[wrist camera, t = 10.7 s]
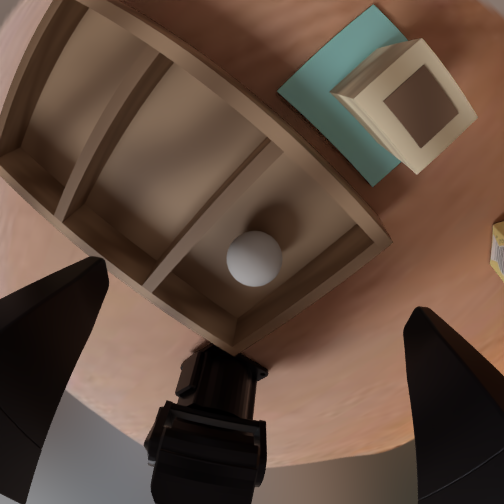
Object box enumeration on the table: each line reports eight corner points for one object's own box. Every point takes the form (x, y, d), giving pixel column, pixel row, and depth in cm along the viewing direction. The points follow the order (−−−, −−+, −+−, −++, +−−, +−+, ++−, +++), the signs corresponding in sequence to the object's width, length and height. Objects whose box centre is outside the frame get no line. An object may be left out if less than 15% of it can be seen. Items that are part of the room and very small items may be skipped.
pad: (456, 107, 14) (459, 108, 14) (371, 185, 18) (372, 187, 17) (371, 5, 11) (373, 4, 11) (276, 91, 15) (276, 91, 15)
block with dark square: (377, 143, 16) (419, 177, 11) (329, 91, 14) (354, 99, 9) (423, 102, 14) (480, 119, 9) (377, 48, 13) (423, 37, 8)
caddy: (377, 215, 19) (393, 242, 16) (239, 324, 25) (233, 356, 22) (96, -12, 11) (66, -20, 8) (15, 148, 18) (-13, 162, 15)
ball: (293, 244, 20) (294, 275, 17) (258, 273, 21) (254, 306, 19) (254, 211, 19) (249, 238, 16) (220, 244, 20) (210, 275, 18)
